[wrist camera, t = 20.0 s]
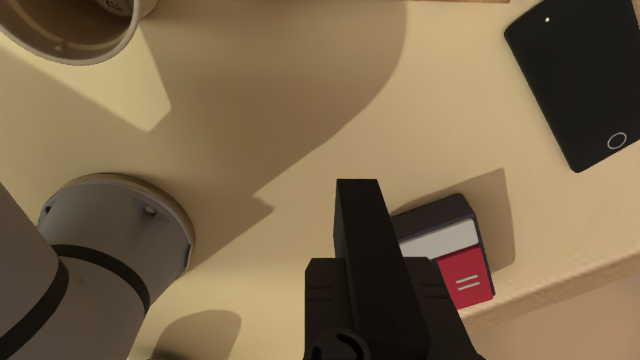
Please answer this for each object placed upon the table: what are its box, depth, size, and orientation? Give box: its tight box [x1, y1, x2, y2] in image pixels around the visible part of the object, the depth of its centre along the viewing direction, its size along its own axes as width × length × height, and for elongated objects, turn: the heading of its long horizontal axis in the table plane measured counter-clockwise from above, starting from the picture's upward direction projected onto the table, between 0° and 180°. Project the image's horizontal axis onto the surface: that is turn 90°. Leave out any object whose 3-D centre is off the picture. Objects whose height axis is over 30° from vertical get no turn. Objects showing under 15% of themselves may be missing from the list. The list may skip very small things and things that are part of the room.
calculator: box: [391, 194, 495, 310], centre depth 41 cm, size 11×4×15 cm
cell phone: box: [504, 0, 640, 173], centre depth 31 cm, size 9×18×1 cm, turn 40°
